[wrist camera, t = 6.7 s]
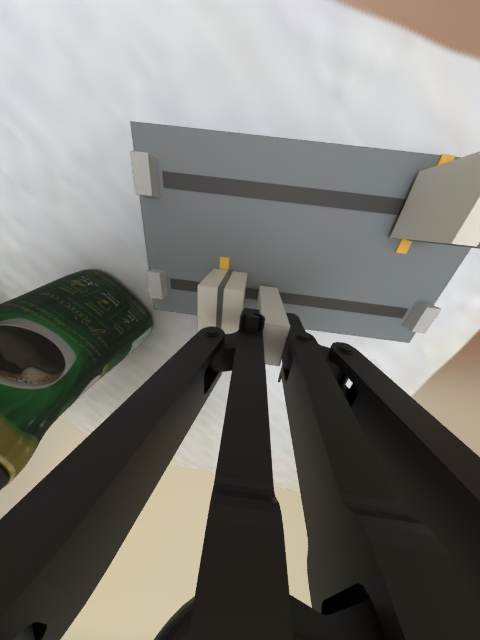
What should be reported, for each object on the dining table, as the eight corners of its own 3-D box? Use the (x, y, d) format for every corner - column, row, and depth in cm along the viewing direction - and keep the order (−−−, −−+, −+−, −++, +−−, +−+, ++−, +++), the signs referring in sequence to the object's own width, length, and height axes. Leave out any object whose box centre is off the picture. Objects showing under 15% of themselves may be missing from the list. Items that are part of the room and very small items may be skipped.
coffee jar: (62, 300, 22) (-540, 536, 5) (94, 255, 19) (-959, 464, 3) (129, 353, 25) (-121, 608, 8) (166, 321, 22) (-101, 612, 6)
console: (162, 301, 21) (147, 314, 18) (145, 134, 14) (118, 111, 11) (395, 332, 20) (418, 350, 17) (490, 172, 14) (552, 158, 11)
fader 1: (212, 310, 18) (197, 338, 14) (213, 267, 16) (197, 284, 12) (242, 314, 18) (237, 343, 14) (247, 272, 16) (244, 290, 12)
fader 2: (389, 238, 14) (451, 244, 10) (419, 170, 12) (515, 138, 8) (429, 242, 14) (510, 252, 10) (466, 175, 12) (589, 146, 8)
